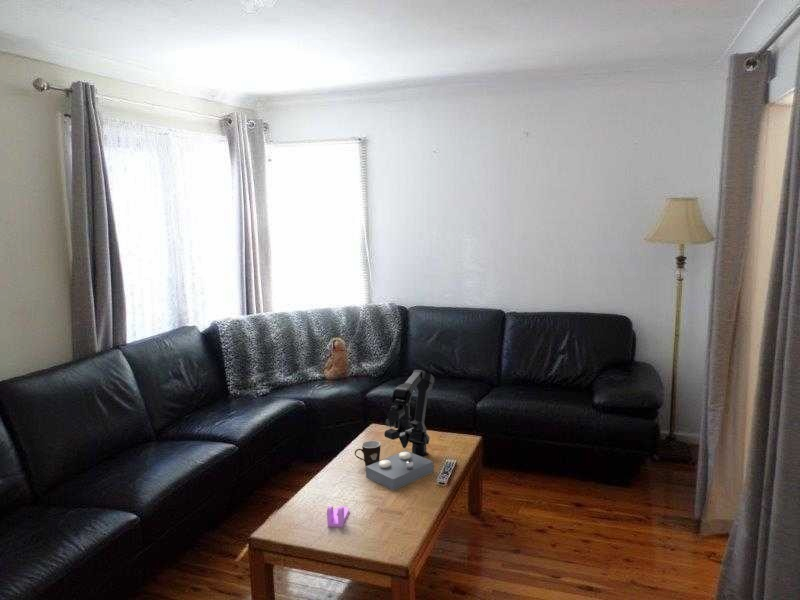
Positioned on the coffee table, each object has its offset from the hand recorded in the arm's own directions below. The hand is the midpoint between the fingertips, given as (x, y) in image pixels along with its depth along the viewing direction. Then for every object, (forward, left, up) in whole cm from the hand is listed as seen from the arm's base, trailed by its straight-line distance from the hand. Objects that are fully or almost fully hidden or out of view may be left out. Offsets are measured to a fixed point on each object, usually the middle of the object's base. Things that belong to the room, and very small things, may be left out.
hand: (404, 447), depth 264 cm
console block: (+6, +3, -10) cm, 12 cm away
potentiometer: (+6, +9, -5) cm, 12 cm away
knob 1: (+12, 0, -7) cm, 14 cm away
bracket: (+47, +13, -10) cm, 50 cm away
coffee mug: (+9, -15, -10) cm, 20 cm away
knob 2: (0, 0, -7) cm, 7 cm away
